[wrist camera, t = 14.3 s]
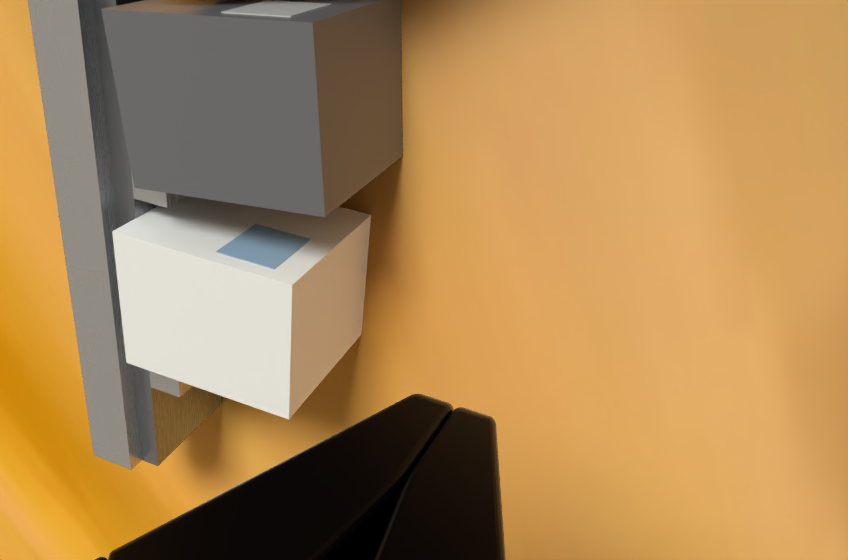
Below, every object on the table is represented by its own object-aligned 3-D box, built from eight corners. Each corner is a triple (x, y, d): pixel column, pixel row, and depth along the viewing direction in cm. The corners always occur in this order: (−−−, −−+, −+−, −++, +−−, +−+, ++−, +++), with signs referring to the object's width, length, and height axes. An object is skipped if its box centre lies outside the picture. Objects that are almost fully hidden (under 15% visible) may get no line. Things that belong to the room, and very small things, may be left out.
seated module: (402, -8, 18) (312, 21, 14) (404, 156, 20) (325, 218, 16) (223, -17, 20) (100, 7, 16) (240, 136, 22) (134, 188, 18)
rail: (241, -16, 19) (138, 5, 16) (247, 411, 26) (174, 487, 23) (143, -34, 20) (25, -18, 17) (173, 385, 27) (93, 455, 24)
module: (372, 213, 21) (292, 283, 17) (362, 333, 23) (288, 420, 19) (217, 172, 22) (111, 230, 19) (221, 289, 24) (126, 363, 21)
